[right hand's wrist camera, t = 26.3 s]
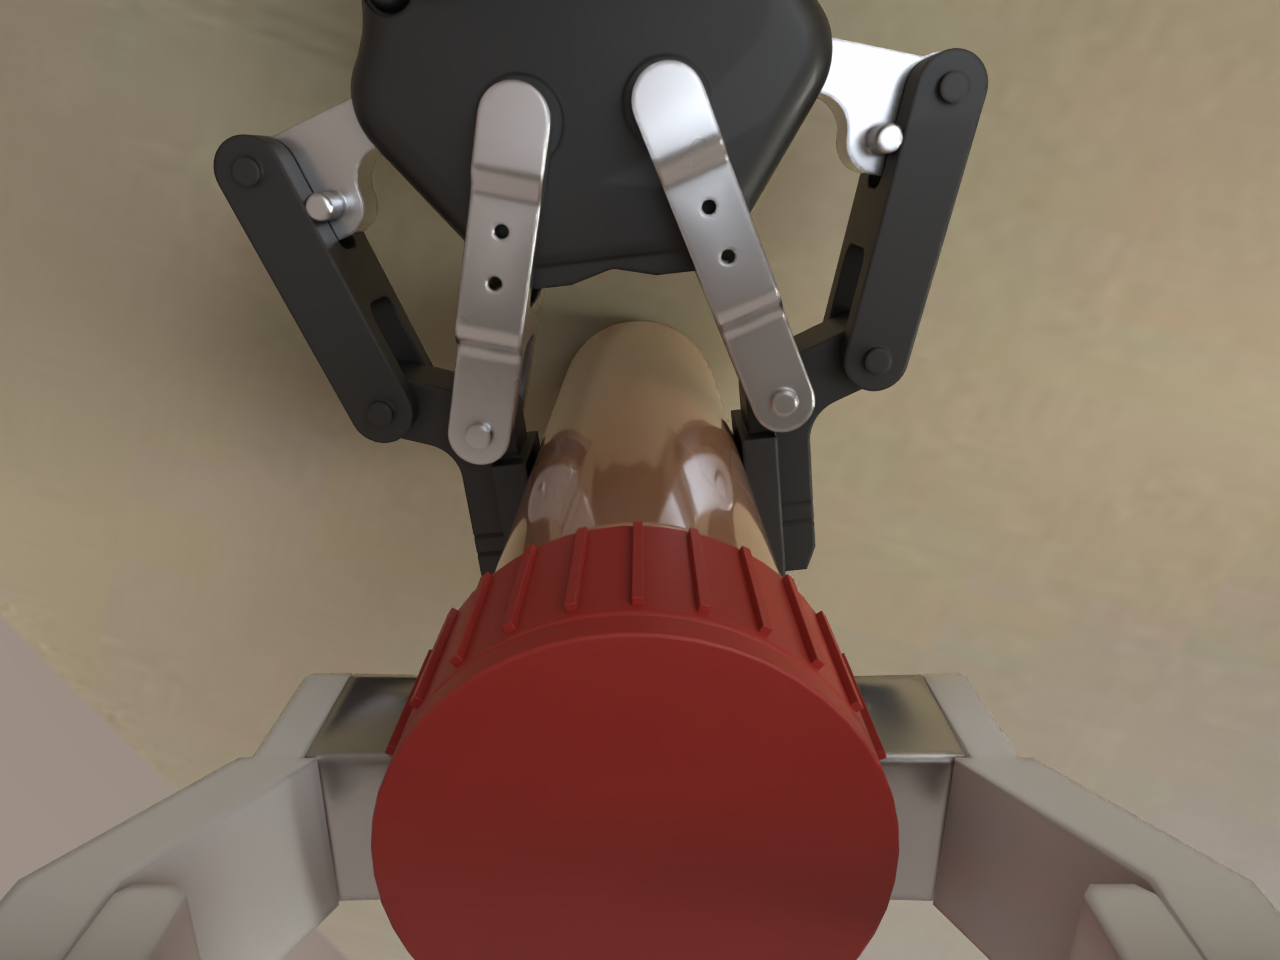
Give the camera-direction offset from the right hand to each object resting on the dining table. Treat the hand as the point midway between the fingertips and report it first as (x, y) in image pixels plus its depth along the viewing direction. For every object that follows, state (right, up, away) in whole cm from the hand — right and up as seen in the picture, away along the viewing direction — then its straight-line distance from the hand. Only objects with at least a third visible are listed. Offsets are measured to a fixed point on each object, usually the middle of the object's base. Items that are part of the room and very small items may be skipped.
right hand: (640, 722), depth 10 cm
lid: (0, -1, -2) cm, 2 cm away
